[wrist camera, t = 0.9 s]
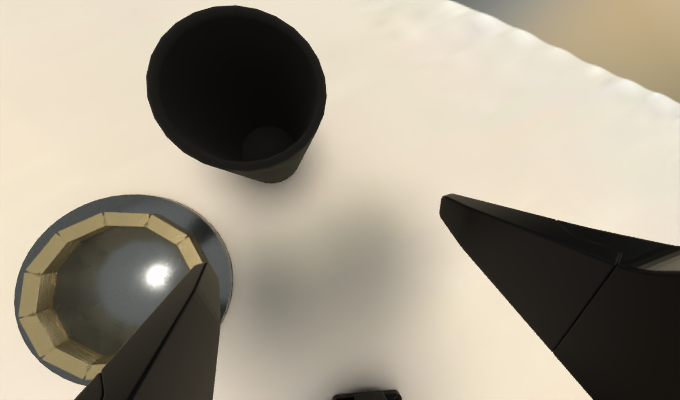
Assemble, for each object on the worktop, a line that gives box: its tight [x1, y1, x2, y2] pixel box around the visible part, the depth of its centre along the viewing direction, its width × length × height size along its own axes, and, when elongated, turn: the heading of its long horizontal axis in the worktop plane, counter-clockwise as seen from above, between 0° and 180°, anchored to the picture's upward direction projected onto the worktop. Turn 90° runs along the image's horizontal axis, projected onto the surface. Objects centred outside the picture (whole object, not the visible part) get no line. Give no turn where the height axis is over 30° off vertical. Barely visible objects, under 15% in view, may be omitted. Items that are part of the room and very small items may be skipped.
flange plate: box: [14, 195, 233, 386], centre depth 19 cm, size 15×15×2 cm
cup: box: [146, 5, 327, 183], centre depth 17 cm, size 8×8×12 cm
